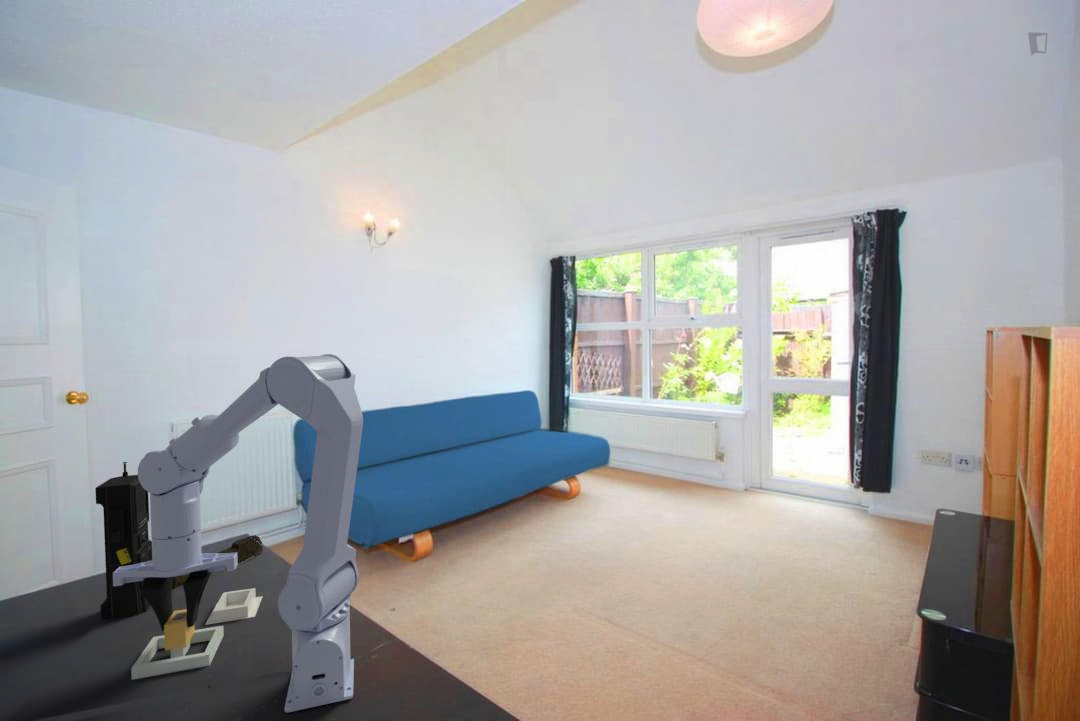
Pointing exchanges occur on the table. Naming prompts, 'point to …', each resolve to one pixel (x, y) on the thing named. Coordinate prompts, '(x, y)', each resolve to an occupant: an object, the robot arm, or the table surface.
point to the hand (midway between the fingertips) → (179, 625)
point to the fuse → (178, 634)
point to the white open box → (235, 606)
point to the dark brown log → (241, 547)
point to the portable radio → (124, 541)
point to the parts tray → (179, 663)
